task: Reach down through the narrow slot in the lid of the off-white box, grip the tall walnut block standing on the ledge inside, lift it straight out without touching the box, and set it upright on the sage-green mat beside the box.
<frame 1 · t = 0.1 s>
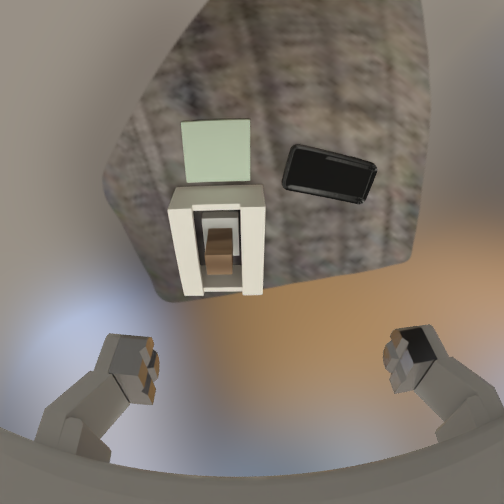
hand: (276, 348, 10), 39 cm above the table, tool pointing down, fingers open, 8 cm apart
phone: (329, 173, 48), on the table
sage mat: (216, 150, 45), on the table
slotted box: (221, 231, 54), on the table
walnut block: (221, 237, 52), point 2 cm above the table, touching slotted box
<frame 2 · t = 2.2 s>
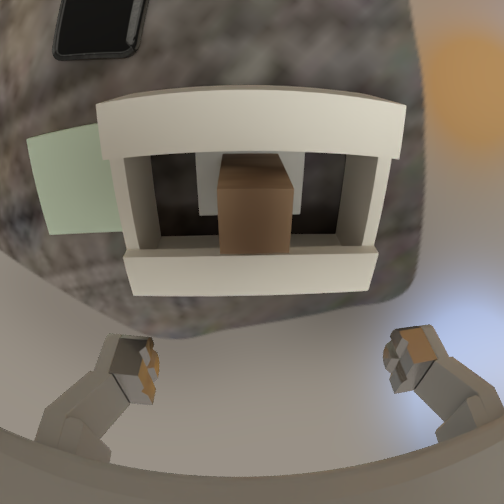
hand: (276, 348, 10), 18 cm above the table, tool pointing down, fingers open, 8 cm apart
sage mat: (80, 181, 24), on the table
slotted box: (249, 170, 24), on the table
walnut block: (250, 178, 23), point 2 cm above the table, touching slotted box
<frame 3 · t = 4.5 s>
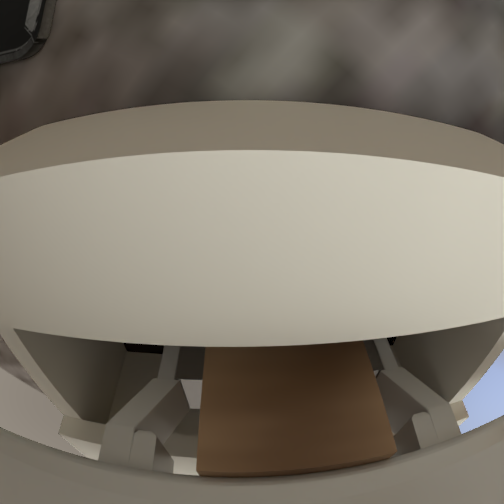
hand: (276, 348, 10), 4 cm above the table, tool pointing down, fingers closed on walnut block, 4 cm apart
slotted box: (268, 270, 13), on the table
walnut block: (271, 301, 12), point 2 cm above the table, touching gripper, slotted box
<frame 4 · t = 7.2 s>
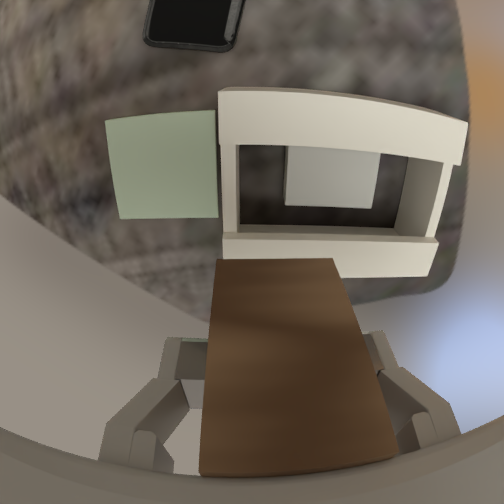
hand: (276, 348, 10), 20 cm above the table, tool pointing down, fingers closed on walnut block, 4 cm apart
sage mat: (162, 166, 26), on the table
slotted box: (328, 167, 26), on the table
walnut block: (272, 302, 12), point 18 cm above the table, touching gripper
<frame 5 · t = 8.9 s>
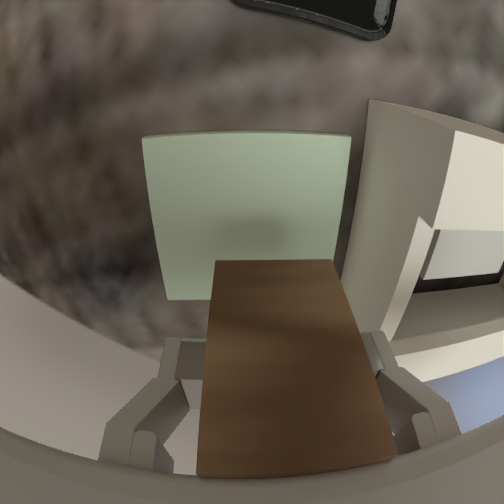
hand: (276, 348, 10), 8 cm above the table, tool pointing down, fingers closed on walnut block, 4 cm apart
sage mat: (247, 222, 17), on the table
slotted box: (464, 223, 17), on the table
walnut block: (271, 303, 12), point 6 cm above the table, touching gripper
when the fingers open (4 cm above the table, at t = 10.3 s): walnut block drops 1 cm, resting on sage mat.
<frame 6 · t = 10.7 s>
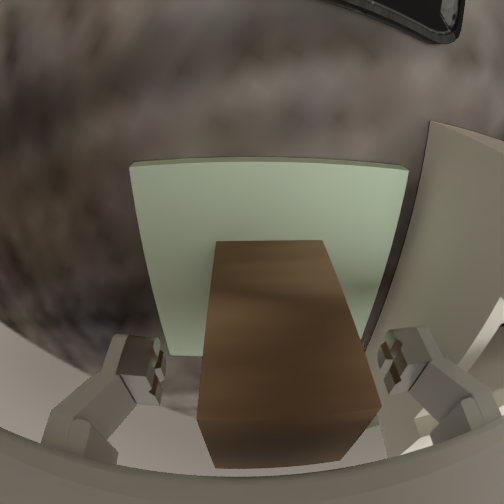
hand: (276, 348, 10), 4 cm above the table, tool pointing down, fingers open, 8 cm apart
sage mat: (269, 273, 13), on the table
walnut block: (268, 282, 13), point 1 cm above the table, touching sage mat
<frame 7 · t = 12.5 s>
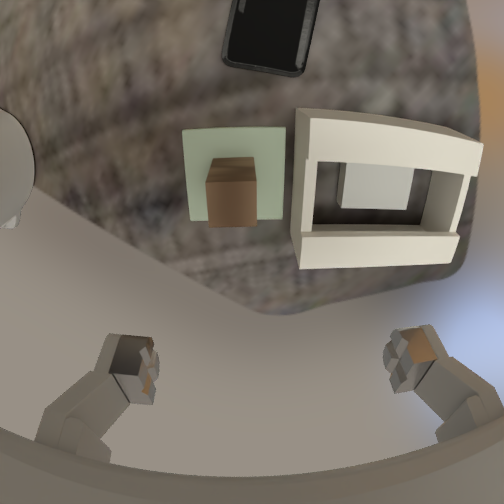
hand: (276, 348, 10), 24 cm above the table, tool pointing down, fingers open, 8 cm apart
phone: (274, 3, 21), on the table
sage mat: (234, 174, 31), on the table
slotted box: (372, 176, 31), on the table
walnut block: (234, 176, 30), point 1 cm above the table, touching sage mat
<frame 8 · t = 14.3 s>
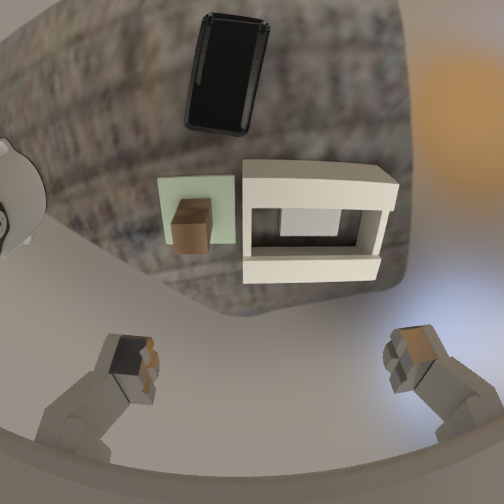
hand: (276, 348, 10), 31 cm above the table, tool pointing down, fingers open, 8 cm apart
phone: (225, 73, 32), on the table
sage mat: (198, 210, 41), on the table
slotted box: (308, 209, 41), on the table
walnut block: (197, 212, 40), point 1 cm above the table, touching sage mat
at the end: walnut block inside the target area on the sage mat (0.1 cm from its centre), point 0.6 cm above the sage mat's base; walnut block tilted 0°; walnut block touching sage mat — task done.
